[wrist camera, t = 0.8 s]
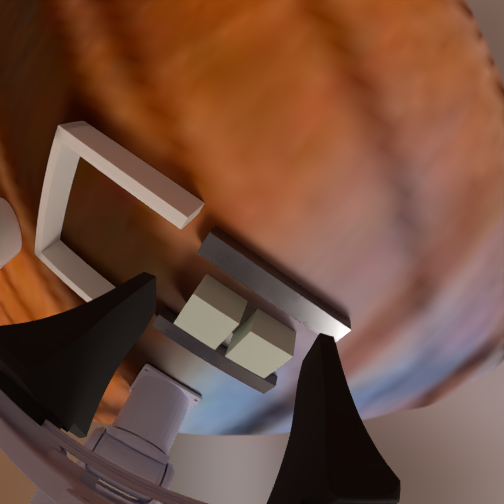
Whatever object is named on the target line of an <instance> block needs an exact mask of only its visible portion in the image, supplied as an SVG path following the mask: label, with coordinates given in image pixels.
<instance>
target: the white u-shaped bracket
mask: <svg viewBox="0 0 504 504" xmlns="http://www.w3.org/2000/svg"><path fill="white" fill-rule="evenodd" d="M80 156H81V157H82V158H84V159H85V160H86V161H88V162H89V163H90V164H92V165H93V166H94V167H96V168H97V169H98V170H100V171H101V172H102V173H104V174H105V175H107V176H108V177H109V178H111V179H112V180H113V181H115V182H116V183H117V184H119V185H120V186H121V187H123V188H124V189H125V190H127V191H128V192H130V193H131V194H132V195H134V196H135V197H136V198H138V199H139V200H141V201H142V202H143V203H145V204H146V205H147V206H149V207H150V208H152V209H153V210H154V211H156V212H157V213H159V214H160V215H161V216H163V217H164V218H166V219H167V220H168V221H170V222H171V223H173V224H174V225H175V226H177V227H178V228H180V229H182V228H183V227H184V226H185V225H187V224H188V223H189V222H190V221H191V220H192V219H193V218H194V217H195V216H197V215H198V214H199V212H200V210H201V209H202V207H203V205H204V204H205V203H204V202H202V201H201V200H199V199H198V198H197V197H195V196H194V195H192V194H191V193H189V192H188V191H186V190H185V189H183V188H182V187H181V186H179V185H178V184H176V183H175V182H173V181H172V180H170V179H169V178H168V177H166V176H165V175H163V174H162V173H160V172H159V171H157V170H156V169H154V168H153V167H151V166H150V165H149V164H147V163H146V162H144V161H143V160H141V159H140V158H138V157H137V156H135V155H134V154H132V153H131V152H129V151H128V150H126V149H125V148H123V147H122V146H121V145H119V144H118V143H116V142H115V141H113V140H112V139H110V138H109V137H107V136H106V135H104V134H103V133H101V132H100V131H98V130H97V129H95V128H94V127H92V126H91V125H89V124H88V123H86V122H85V121H78V122H72V123H66V124H61V125H58V127H57V131H56V134H55V137H54V141H53V145H52V148H51V152H50V156H49V161H48V165H47V169H46V174H45V179H44V184H43V189H42V195H41V201H40V207H39V214H38V222H37V231H36V242H35V255H36V256H37V257H38V258H39V259H40V260H41V261H42V262H43V263H44V264H45V265H46V266H48V267H49V268H50V269H51V270H52V271H53V272H54V273H55V274H56V275H57V276H58V277H59V278H60V279H61V280H62V281H63V282H65V283H66V284H67V285H68V286H69V287H70V288H71V289H72V290H73V291H75V292H76V293H77V294H78V295H79V296H80V297H82V298H83V299H84V300H85V301H86V302H89V301H91V300H93V299H95V298H97V297H99V296H101V295H103V294H105V293H107V292H109V291H110V290H112V289H114V288H116V287H115V286H114V285H112V284H111V283H110V282H108V281H107V280H106V279H105V278H103V277H102V276H101V275H100V274H99V273H97V272H96V271H95V270H94V269H93V268H91V267H90V266H89V265H88V264H87V263H85V262H84V261H83V260H82V259H81V258H80V257H78V256H77V255H76V254H75V253H74V252H73V251H72V250H70V249H69V248H68V247H67V246H66V245H65V244H64V243H63V242H62V241H61V240H60V235H61V230H62V225H63V220H64V215H65V210H66V206H67V201H68V197H69V193H70V189H71V185H72V181H73V178H74V174H75V171H76V167H77V164H78V161H79V157H80Z"/></svg>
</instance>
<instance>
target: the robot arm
mask: <svg viewBox="0 0 504 504" xmlns="http://www.w3.org/2000/svg"><path fill="white" fill-rule="evenodd" d="M155 311H156V276H154V275H151V274H148V273H146V272H143V273H141V274H139V275H137V276H135V277H134V278H132V279H130V280H128V281H127V282H125V283H123V284H121V285H119V286H118V287H116V288H114V289H112V290H110V291H109V292H107V293H105V294H103V295H101V296H99V297H97V298H95V299H93V300H91V301H89V302H87V303H85V304H83V305H80V306H78V307H76V308H73V309H71V310H68V311H66V312H63V313H60V314H57V315H53V316H50V317H47V318H43V319H39V320H35V321H31V322H26V323H20V324H12V325H3V326H0V369H1V371H0V449H1V451H2V452H3V453H4V454H5V455H6V456H7V457H8V458H9V459H10V461H11V462H12V463H13V464H14V465H15V466H16V467H17V468H18V469H19V470H20V471H21V472H22V473H23V474H24V475H25V476H26V477H27V478H28V479H29V480H30V481H31V482H32V483H33V484H34V485H35V486H36V487H37V490H36V492H35V494H34V495H33V497H32V499H31V501H30V503H29V504H160V503H163V504H208V503H204V502H201V501H198V500H195V499H192V498H189V497H186V496H184V495H181V494H178V493H176V492H173V491H170V490H169V488H170V486H171V483H172V481H173V477H174V470H173V467H172V464H170V463H168V460H169V458H170V457H169V456H168V453H169V450H170V448H171V446H172V443H173V441H174V439H175V436H176V434H177V432H178V430H179V428H180V425H181V423H182V421H183V418H184V416H185V414H186V412H187V411H188V410H189V409H191V408H192V407H193V406H195V405H196V404H198V403H199V402H200V401H201V400H202V397H201V396H200V395H198V394H196V393H195V392H193V391H191V390H189V389H188V388H186V387H184V386H183V385H181V384H179V383H178V382H176V381H174V380H173V379H171V378H170V377H168V376H166V375H165V374H163V373H162V372H160V371H159V370H157V369H155V368H154V367H152V366H151V365H149V364H145V366H144V367H143V369H142V370H141V372H140V373H139V375H138V376H137V378H136V379H135V381H134V382H133V384H132V385H131V387H130V389H129V390H130V392H131V394H130V396H129V397H128V399H127V401H126V402H125V404H124V406H123V407H122V409H121V411H120V412H119V414H118V416H117V417H116V419H115V421H114V422H113V424H112V425H111V424H110V425H109V427H108V429H107V430H106V429H105V428H104V427H101V428H96V429H95V430H94V431H93V432H92V433H91V435H90V436H89V438H88V440H87V441H86V443H85V445H84V446H83V445H82V444H80V443H79V442H77V441H76V440H74V439H73V438H71V437H69V436H68V435H67V434H65V433H64V432H63V431H61V430H60V429H61V428H62V429H64V430H65V431H66V432H68V431H70V432H71V433H73V434H74V435H76V436H77V437H79V438H83V437H86V436H87V433H88V430H89V428H90V425H91V422H92V420H93V417H94V414H95V412H96V410H97V407H98V405H99V403H100V401H101V398H102V396H103V394H104V392H105V390H106V388H107V386H108V384H109V382H110V380H111V379H112V377H113V375H114V373H115V371H116V369H117V368H118V366H119V365H120V363H121V362H122V360H123V359H124V358H125V356H126V355H127V353H128V352H129V351H130V349H131V348H132V347H133V345H134V344H135V342H136V341H137V340H138V338H139V337H140V336H141V334H142V333H143V331H144V330H145V329H146V327H147V325H148V324H149V322H150V320H151V318H152V316H153V314H154V313H155ZM64 449H65V450H66V451H68V452H69V453H70V454H72V455H73V456H75V457H76V458H78V461H77V463H74V462H73V461H72V460H70V459H69V458H68V457H67V453H66V451H65V450H64ZM99 478H100V479H101V480H103V481H105V482H106V483H108V484H110V485H112V486H114V487H116V488H117V489H119V490H121V491H123V492H125V493H127V494H129V495H131V496H133V497H135V498H137V499H139V500H136V499H133V498H130V497H128V496H125V495H124V494H122V493H120V492H118V491H116V490H114V489H112V488H110V487H109V486H107V485H105V484H103V483H102V482H100V481H98V480H99ZM399 499H400V480H399V478H398V477H397V476H396V475H395V473H394V472H393V471H392V470H391V468H390V467H389V466H388V465H387V463H386V462H385V460H384V459H383V457H382V456H381V455H380V453H379V452H378V450H377V448H376V447H375V445H374V443H373V441H372V440H371V438H370V436H369V434H368V433H367V430H366V429H365V426H364V425H363V422H362V420H361V418H360V416H359V414H358V411H357V409H356V406H355V404H354V401H353V399H352V396H351V393H350V390H349V387H348V385H347V381H346V378H345V375H344V372H343V368H342V365H341V361H340V358H339V354H338V350H337V346H336V342H335V339H334V337H333V336H330V335H326V334H323V333H319V335H318V337H317V338H316V340H315V342H314V343H313V345H312V347H311V348H310V350H309V352H308V353H307V355H306V357H305V358H304V360H303V362H302V366H301V370H300V375H299V379H298V384H297V391H296V399H295V407H294V414H293V421H292V427H291V432H290V437H289V440H288V444H287V448H286V451H285V455H284V458H283V461H282V464H281V467H280V470H279V473H278V476H277V479H276V481H275V484H274V487H273V489H272V492H271V494H270V497H269V499H268V502H267V504H397V503H398V502H399Z"/></svg>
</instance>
